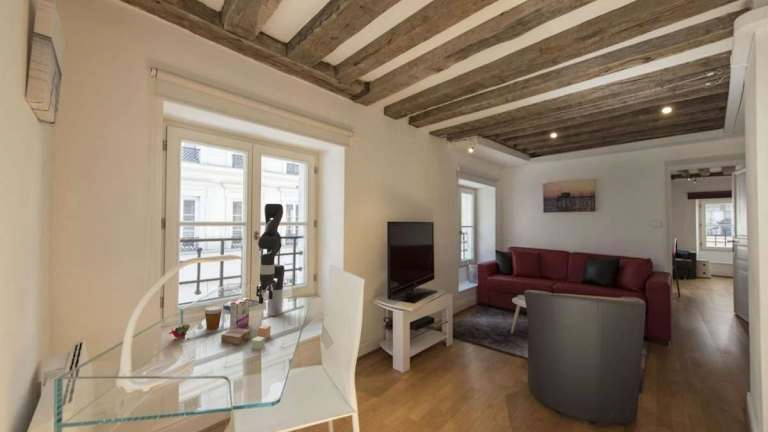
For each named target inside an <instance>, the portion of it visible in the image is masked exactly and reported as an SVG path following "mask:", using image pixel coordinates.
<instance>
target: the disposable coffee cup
mask: <svg viewBox="0 0 768 432" xmlns="http://www.w3.org/2000/svg"><path fill="white" fill-rule="evenodd" d="M223 310H224V309H223V306H222V305H217V304H213V305H210V306H209V305H208V306H206V307H205V308H204V310H203V312H204V317H205V327H206V330H207V331H214V330H217V329H219V328H220V323H221V317H222V313H223V312H222V311H223Z"/></svg>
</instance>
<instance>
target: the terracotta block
mask: <svg viewBox="0 0 768 432" xmlns="http://www.w3.org/2000/svg"><path fill="white" fill-rule="evenodd" d="M271 326H272V325H268V324H262V325H261V326H259V327H258V328H257V329H258V332H257V336H258V337H264V338H265V340H267V339H268V338H270V337H271Z"/></svg>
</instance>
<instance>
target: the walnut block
mask: <svg viewBox="0 0 768 432" xmlns="http://www.w3.org/2000/svg"><path fill="white" fill-rule="evenodd" d="M220 337H221V338H220V343H221V344H222V343H223V344H222V345H228V346H233V347H239V346H241V345H243V344H244V343H245V342H247V341H248V340H249V339H250V338H251V329H247V328H236V327H234V328H232V329H231V330H230V329H229V330H227V331H226V332H223V333H222V334H221V336H220Z"/></svg>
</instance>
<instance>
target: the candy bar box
mask: <svg viewBox="0 0 768 432" xmlns="http://www.w3.org/2000/svg"><path fill="white" fill-rule="evenodd" d="M229 319H230V320H229V330H231V329H232V328H234V327H236V328H242V329H244V328H245V327H247V326H248V325H249V324H250V323H249V322H250V320H249V319H250V298H249V297H241V298H238V299H236V300H234V301H231V302H230V309H229Z"/></svg>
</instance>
